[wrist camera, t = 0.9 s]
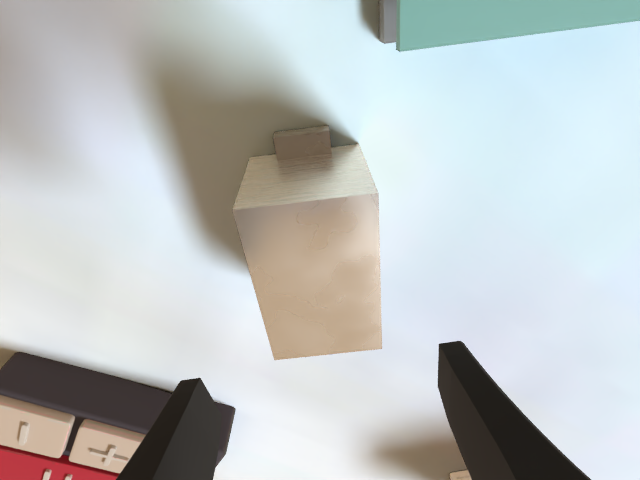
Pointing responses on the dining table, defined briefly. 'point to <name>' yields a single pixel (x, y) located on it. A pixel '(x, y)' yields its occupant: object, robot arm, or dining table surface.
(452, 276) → the dining table surface
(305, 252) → the block
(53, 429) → the calculator
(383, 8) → the stand
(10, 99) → the dining table surface
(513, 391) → the dining table surface
